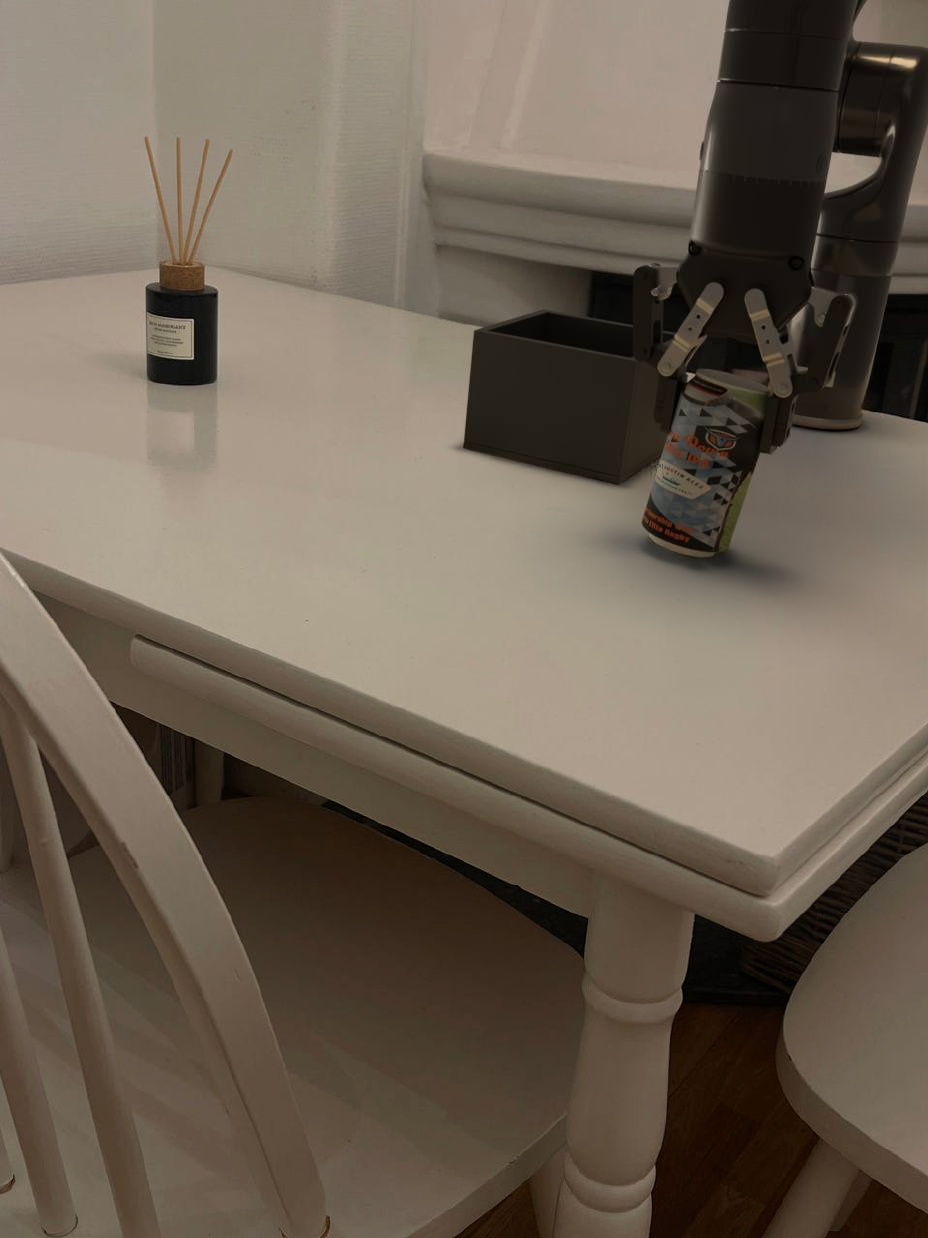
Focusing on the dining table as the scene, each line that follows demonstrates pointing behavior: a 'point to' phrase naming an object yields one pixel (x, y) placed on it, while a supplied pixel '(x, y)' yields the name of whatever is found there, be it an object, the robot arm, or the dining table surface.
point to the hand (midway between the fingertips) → (717, 440)
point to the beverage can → (706, 463)
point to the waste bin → (563, 396)
